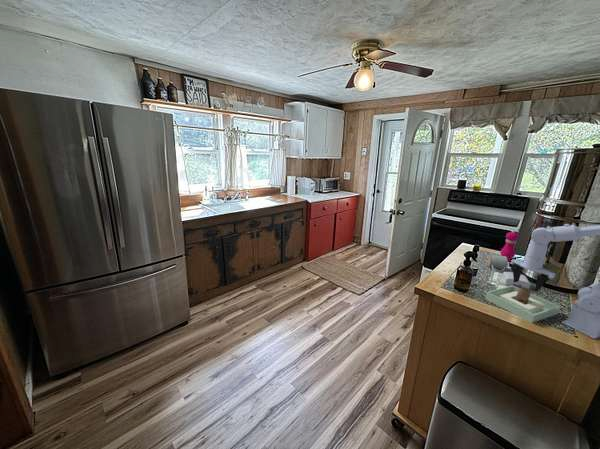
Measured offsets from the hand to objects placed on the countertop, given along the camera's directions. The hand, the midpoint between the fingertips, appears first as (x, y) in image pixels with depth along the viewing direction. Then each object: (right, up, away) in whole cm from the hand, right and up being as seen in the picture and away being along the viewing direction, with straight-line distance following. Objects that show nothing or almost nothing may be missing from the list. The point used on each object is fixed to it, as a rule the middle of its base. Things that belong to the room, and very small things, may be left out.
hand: (526, 285), depth 106 cm
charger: (+15, -4, +25) cm, 29 cm away
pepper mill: (+34, +3, +52) cm, 62 cm away
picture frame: (0, -10, +3) cm, 10 cm away
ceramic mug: (+19, 0, +40) cm, 44 cm away
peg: (0, -9, +3) cm, 10 cm away
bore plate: (0, -9, +3) cm, 10 cm away
